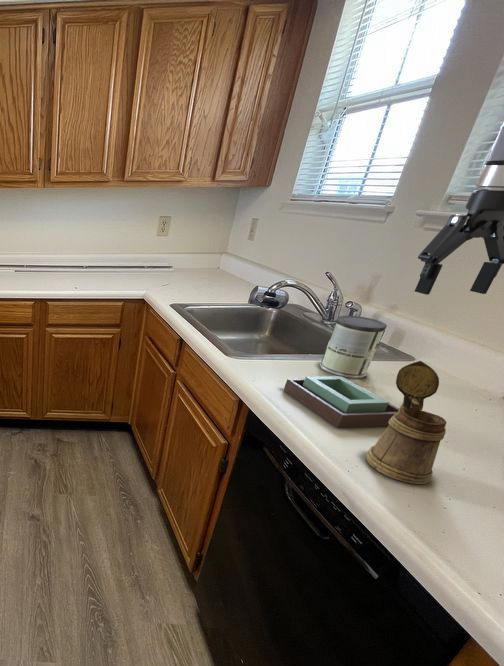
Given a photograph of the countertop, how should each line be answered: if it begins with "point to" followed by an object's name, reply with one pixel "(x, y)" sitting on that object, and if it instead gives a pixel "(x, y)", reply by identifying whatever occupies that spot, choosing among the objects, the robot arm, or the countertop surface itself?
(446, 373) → the countertop surface
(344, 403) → the frame
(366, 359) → the coffee can
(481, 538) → the countertop surface
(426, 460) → the wooden mug
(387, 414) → the tray
